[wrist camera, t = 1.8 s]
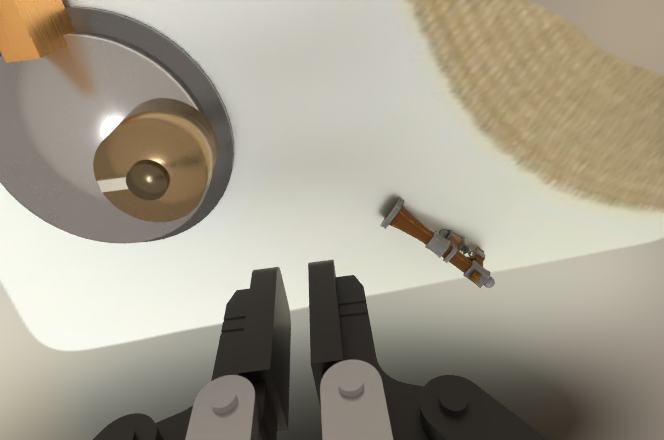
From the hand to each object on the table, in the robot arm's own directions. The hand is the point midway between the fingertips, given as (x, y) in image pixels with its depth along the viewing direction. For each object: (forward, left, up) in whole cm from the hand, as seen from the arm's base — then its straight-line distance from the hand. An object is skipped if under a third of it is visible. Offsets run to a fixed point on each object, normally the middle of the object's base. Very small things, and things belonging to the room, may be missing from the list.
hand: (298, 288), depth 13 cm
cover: (+7, 0, -13) cm, 15 cm away
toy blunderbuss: (-8, +9, -15) cm, 19 cm away
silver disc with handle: (+11, -2, -14) cm, 18 cm away
